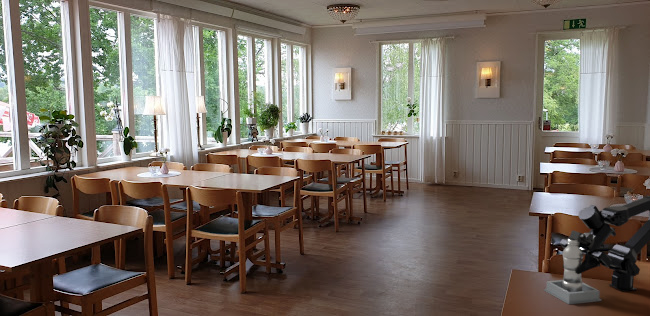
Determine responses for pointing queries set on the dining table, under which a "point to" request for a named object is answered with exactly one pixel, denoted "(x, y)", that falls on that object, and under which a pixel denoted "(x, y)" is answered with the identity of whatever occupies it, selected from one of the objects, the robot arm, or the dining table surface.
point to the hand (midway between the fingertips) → (570, 270)
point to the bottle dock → (572, 293)
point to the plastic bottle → (572, 266)
